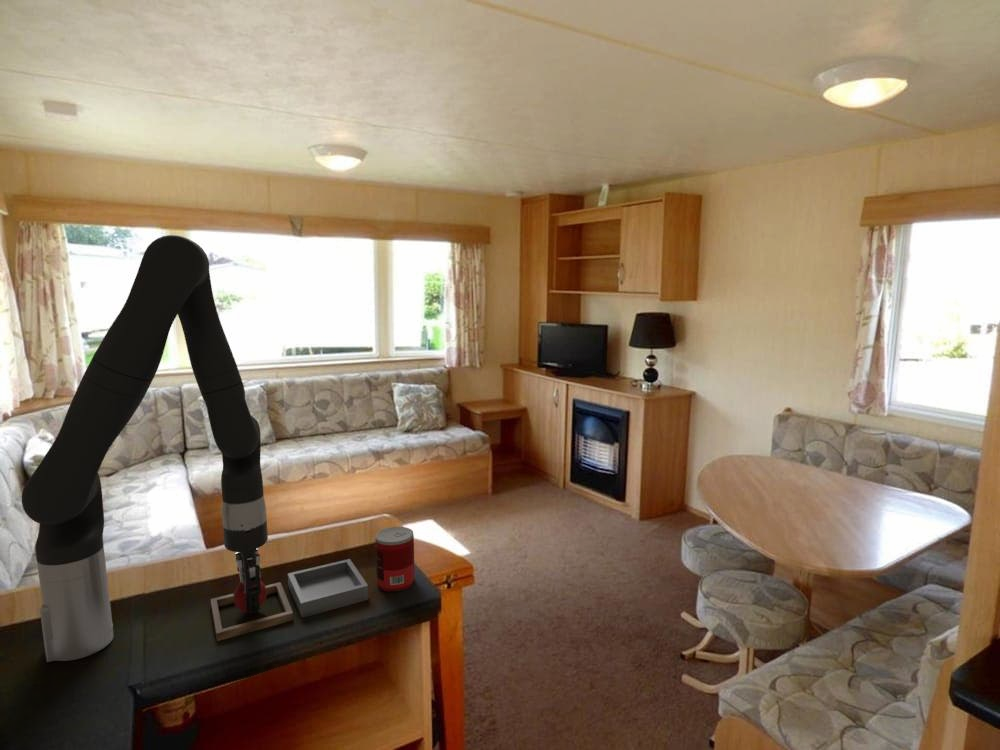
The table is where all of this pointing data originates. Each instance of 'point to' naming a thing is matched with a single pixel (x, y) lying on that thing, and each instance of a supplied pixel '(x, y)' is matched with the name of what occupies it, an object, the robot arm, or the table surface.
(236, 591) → the onion
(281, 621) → the square frame
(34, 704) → the table surface
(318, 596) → the bin
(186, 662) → the table surface
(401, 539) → the canned food
